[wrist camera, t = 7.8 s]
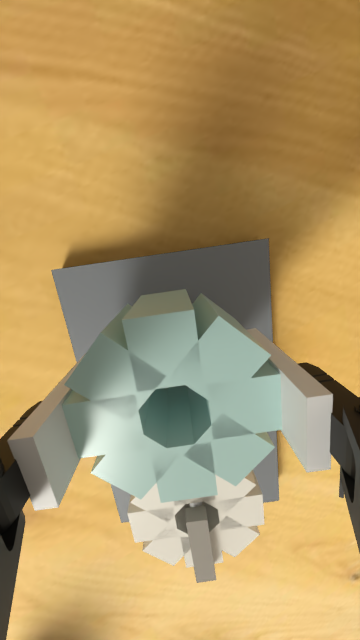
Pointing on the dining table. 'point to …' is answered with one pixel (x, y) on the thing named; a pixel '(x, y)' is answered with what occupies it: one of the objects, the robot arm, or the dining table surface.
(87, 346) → the gear board
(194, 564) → the gear
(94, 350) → the teal gear
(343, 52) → the dining table surface
